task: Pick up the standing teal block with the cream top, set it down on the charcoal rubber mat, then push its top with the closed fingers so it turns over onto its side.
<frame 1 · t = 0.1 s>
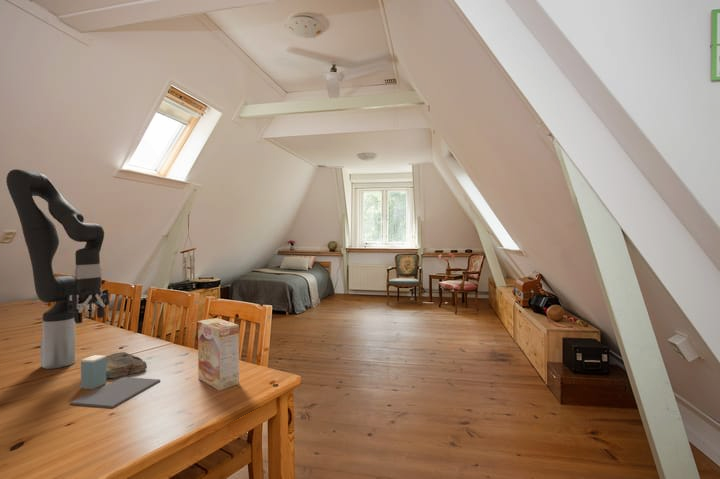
hand: (90, 320, 126), 17 cm above the table, tool pointing down, fingers open, 8 cm apart
clay tablet: (120, 369, 124), on the table
coffeecake box: (218, 381, 113), on the table
mat: (118, 392, 105), on the table
block: (93, 385, 110), on the table
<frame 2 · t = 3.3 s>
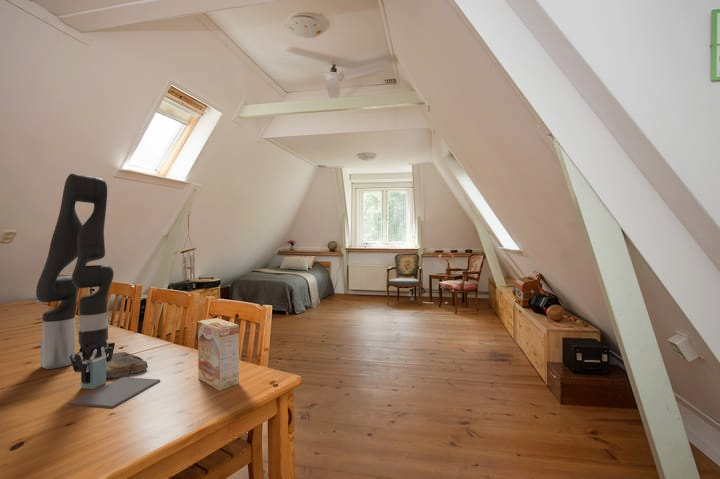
hand: (93, 379, 110), 2 cm above the table, tool pointing down, fingers closed on block, 4 cm apart
block: (93, 385, 110), on the table, touching gripper
everything else where it was.
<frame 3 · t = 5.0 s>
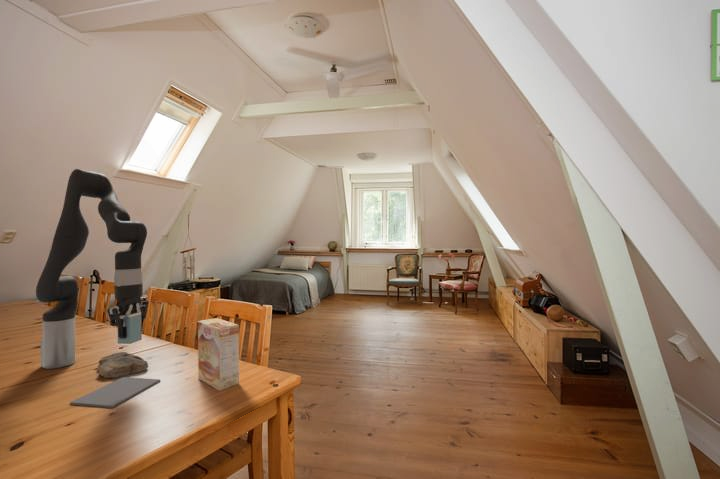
hand: (129, 335, 110), 16 cm above the table, tool pointing down, fingers closed on block, 4 cm apart
block: (129, 341, 110), point 14 cm above the table, touching gripper
everything else where it was.
when the fingers open (3 cm above the table, at t = 6.9 s): block stays where it is, resting on mat.
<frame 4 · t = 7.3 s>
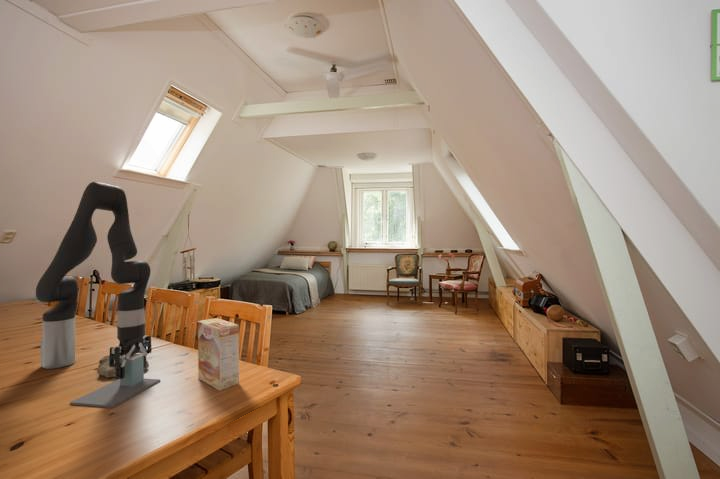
hand: (131, 373, 110), 4 cm above the table, tool pointing down, fingers open, 8 cm apart
block: (131, 383, 110), point 1 cm above the table, touching mat
everything else where it was.
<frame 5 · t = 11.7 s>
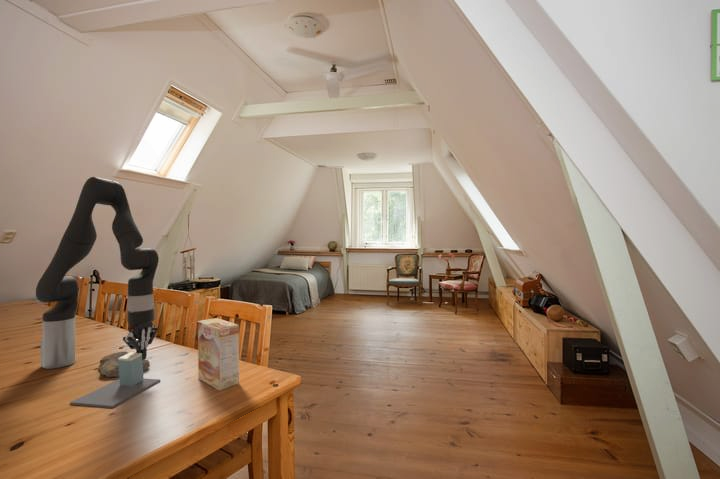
hand: (141, 359, 114), 7 cm above the table, tool pointing down, fingers closed
block: (131, 382, 110), point 1 cm above the table, touching gripper, mat
everything else where it was.
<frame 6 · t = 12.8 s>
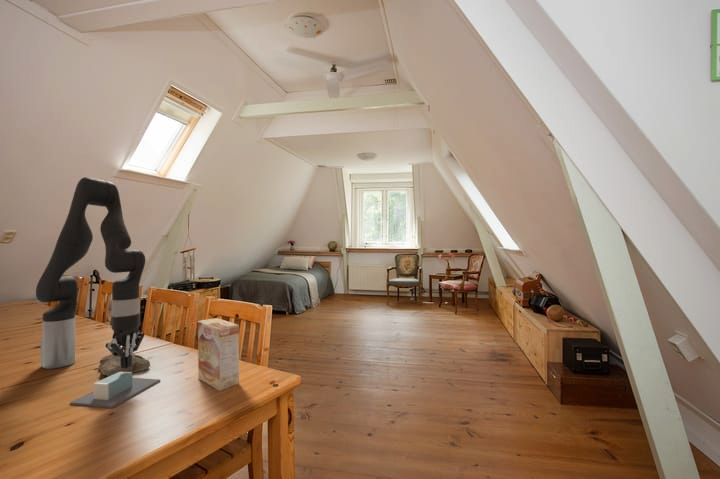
hand: (126, 367, 108), 7 cm above the table, tool pointing down, fingers closed
block: (126, 379, 108), point 3 cm above the table, tilted 90°, touching mat
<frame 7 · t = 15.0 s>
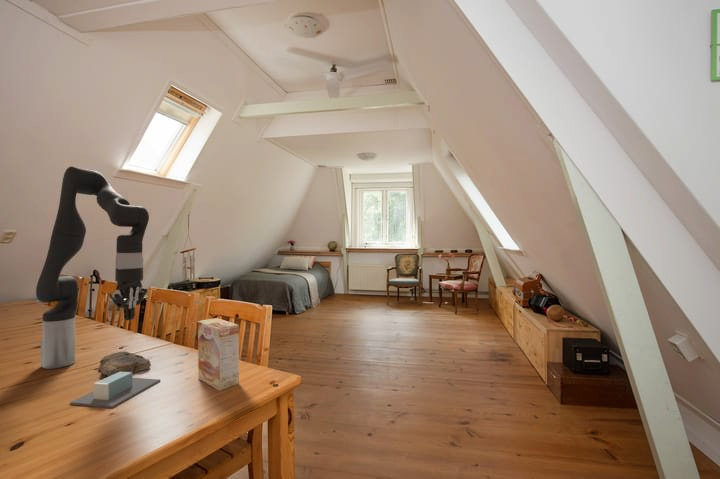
hand: (129, 319, 111), 21 cm above the table, tool pointing down, fingers closed
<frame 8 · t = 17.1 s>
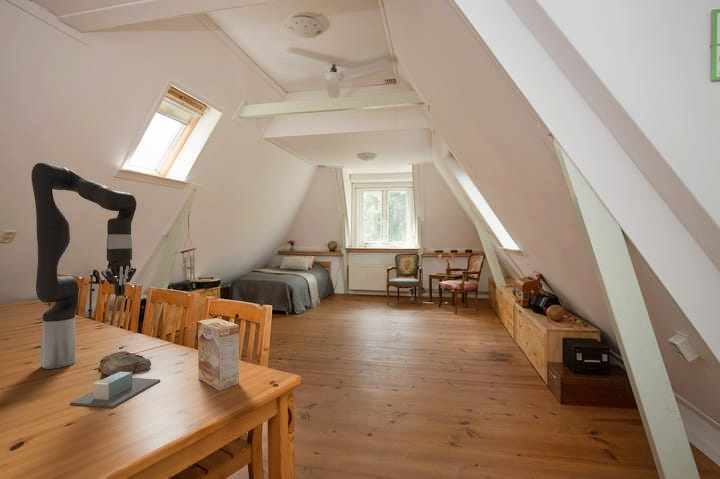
hand: (119, 295, 122), 27 cm above the table, tool pointing down, fingers closed
at the end: block tilted 90°; block inside the target area on the mat (3.3 cm from its centre), point 2.8 cm above the mat's base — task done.
